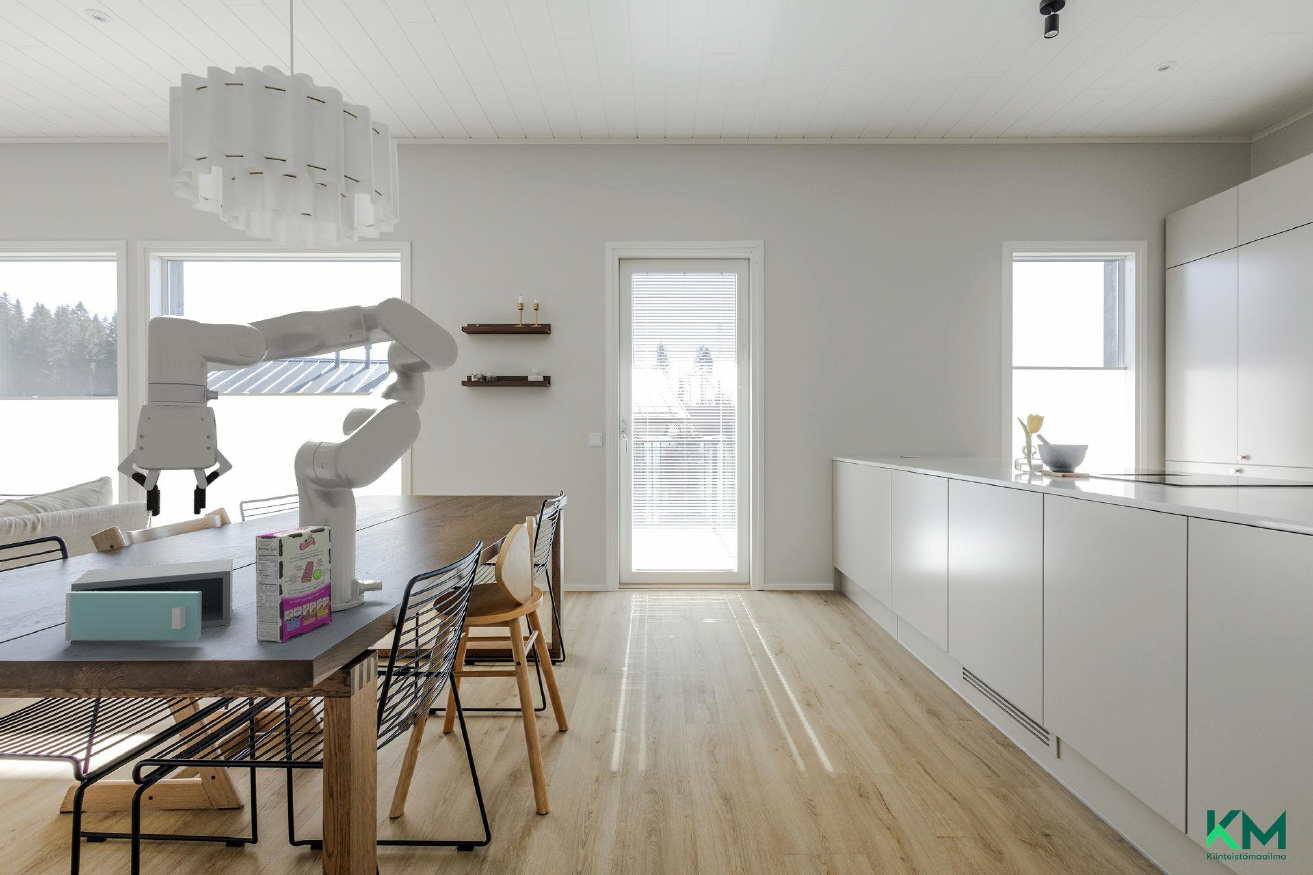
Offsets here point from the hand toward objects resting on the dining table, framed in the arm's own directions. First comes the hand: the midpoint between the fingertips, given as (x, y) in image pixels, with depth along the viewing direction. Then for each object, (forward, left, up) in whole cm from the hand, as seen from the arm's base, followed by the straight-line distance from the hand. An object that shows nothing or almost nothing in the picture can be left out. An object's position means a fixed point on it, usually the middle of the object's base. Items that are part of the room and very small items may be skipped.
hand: (176, 513), depth 101 cm
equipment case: (+3, -10, -19) cm, 22 cm away
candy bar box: (-16, +6, -20) cm, 26 cm away
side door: (+5, +2, -18) cm, 19 cm away
